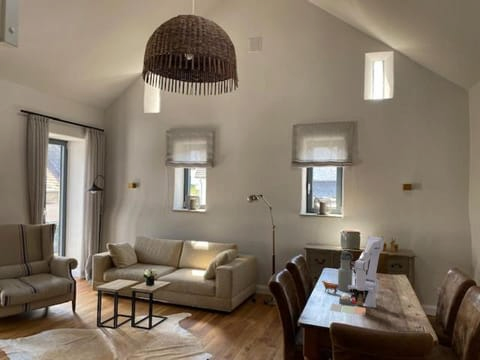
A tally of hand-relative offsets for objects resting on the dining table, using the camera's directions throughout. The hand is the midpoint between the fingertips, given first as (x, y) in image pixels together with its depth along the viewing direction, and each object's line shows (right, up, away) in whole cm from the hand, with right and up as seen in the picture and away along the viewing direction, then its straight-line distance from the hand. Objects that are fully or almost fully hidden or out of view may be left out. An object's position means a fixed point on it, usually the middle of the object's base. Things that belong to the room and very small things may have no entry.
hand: (360, 302), depth 224 cm
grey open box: (-3, -6, +14) cm, 15 cm away
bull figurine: (-10, -6, +37) cm, 39 cm away
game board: (-7, -5, +2) cm, 9 cm away
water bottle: (+4, -6, +45) cm, 45 cm away
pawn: (0, -1, 0) cm, 1 cm away
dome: (-5, -4, +15) cm, 16 cm away
